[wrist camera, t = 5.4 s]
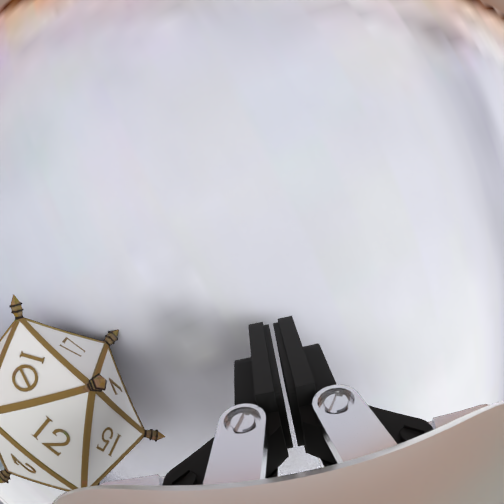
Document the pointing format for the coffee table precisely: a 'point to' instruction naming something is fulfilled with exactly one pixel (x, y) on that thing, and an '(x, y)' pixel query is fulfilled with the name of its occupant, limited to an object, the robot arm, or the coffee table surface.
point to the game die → (62, 406)
